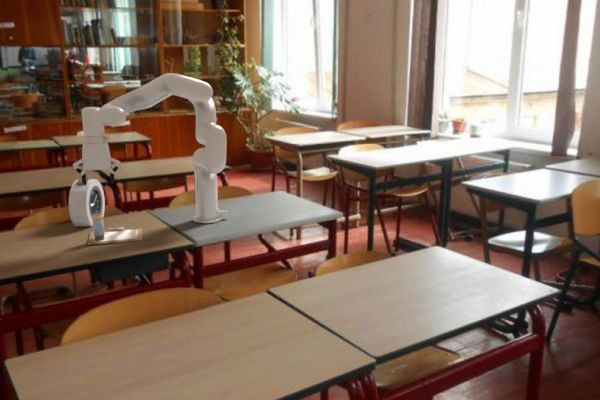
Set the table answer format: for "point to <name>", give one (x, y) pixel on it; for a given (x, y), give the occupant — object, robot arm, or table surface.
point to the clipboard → (117, 236)
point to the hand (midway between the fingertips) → (98, 184)
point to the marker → (98, 226)
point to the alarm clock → (85, 201)
